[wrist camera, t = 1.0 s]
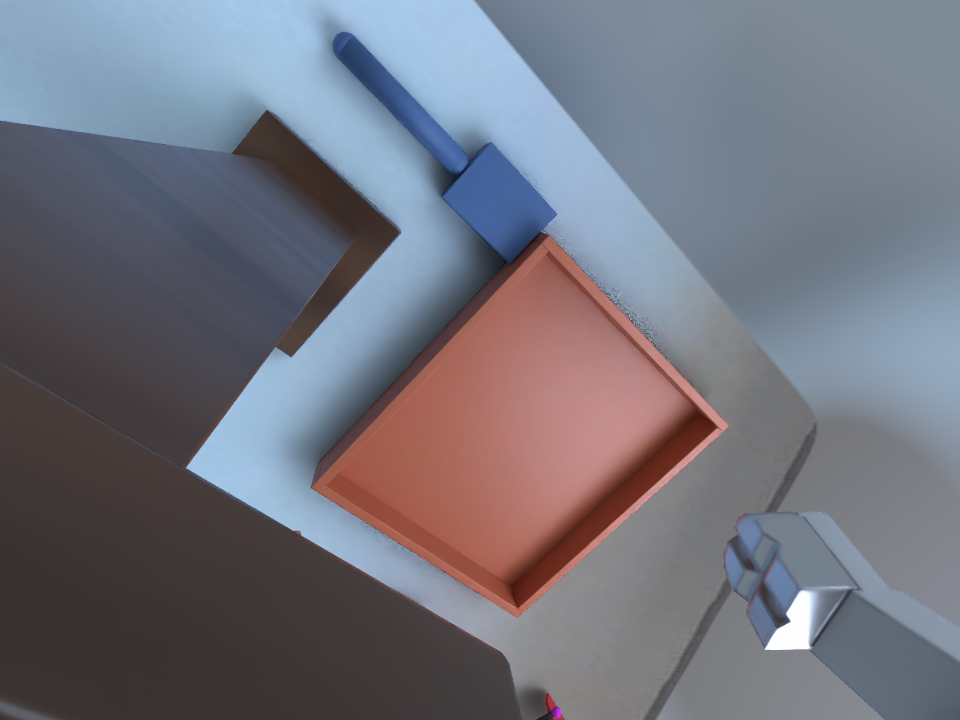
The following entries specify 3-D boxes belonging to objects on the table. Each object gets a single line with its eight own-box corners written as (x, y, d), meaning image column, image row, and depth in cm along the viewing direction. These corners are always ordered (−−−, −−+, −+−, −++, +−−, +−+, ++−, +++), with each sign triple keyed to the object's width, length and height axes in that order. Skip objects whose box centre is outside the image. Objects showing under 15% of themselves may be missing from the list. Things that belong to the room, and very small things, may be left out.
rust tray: (536, 229, 27) (549, 234, 25) (707, 408, 33) (730, 425, 31) (317, 464, 30) (310, 487, 28) (509, 589, 36) (517, 618, 34)
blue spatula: (312, 71, 23) (308, 65, 22) (362, 8, 22) (360, -1, 21) (505, 261, 28) (510, 264, 26) (551, 212, 27) (557, 214, 26)
